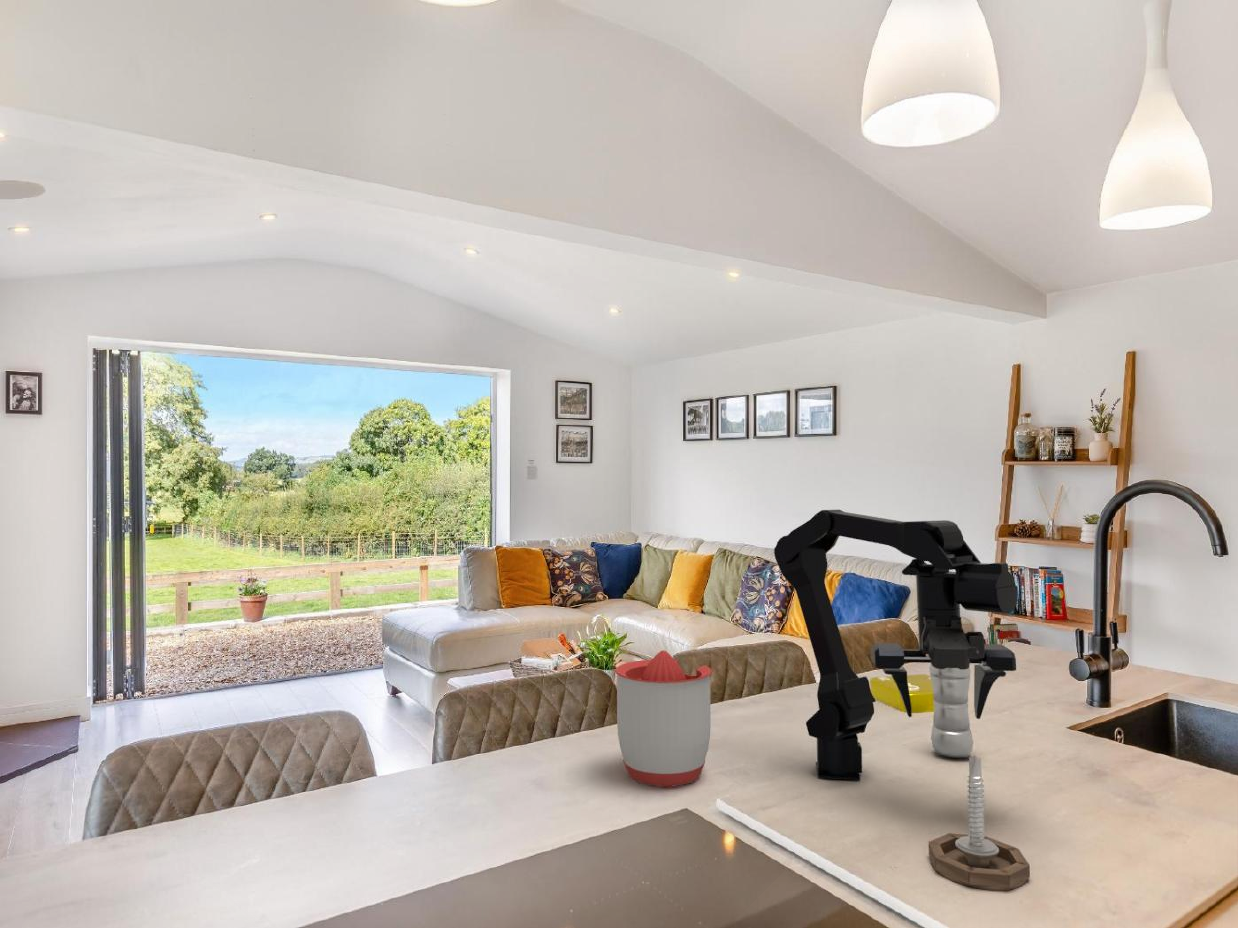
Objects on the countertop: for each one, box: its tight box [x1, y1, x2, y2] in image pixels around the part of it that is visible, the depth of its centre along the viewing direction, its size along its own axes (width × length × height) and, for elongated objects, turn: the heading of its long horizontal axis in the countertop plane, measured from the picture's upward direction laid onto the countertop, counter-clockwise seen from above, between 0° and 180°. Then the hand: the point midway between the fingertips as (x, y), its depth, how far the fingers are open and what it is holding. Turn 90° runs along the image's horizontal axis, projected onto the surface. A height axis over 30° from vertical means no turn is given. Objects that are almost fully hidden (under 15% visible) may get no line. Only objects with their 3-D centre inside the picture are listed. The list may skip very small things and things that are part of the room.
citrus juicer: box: [614, 650, 713, 789], centre depth 127 cm, size 16×17×20 cm
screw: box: [955, 755, 999, 868], centre depth 95 cm, size 13×5×5 cm
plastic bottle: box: [928, 663, 974, 758], centre depth 135 cm, size 6×7×20 cm
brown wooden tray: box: [928, 832, 1031, 892], centre depth 95 cm, size 11×11×2 cm
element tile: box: [869, 673, 934, 714], centre depth 169 cm, size 15×15×5 cm
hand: (943, 717), depth 112 cm, fingers open, 9 cm apart
